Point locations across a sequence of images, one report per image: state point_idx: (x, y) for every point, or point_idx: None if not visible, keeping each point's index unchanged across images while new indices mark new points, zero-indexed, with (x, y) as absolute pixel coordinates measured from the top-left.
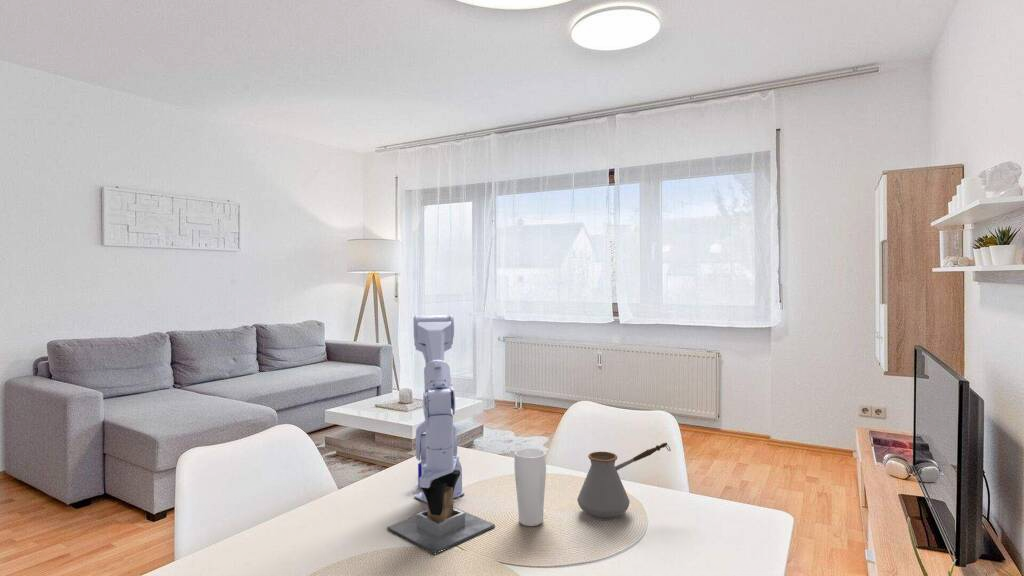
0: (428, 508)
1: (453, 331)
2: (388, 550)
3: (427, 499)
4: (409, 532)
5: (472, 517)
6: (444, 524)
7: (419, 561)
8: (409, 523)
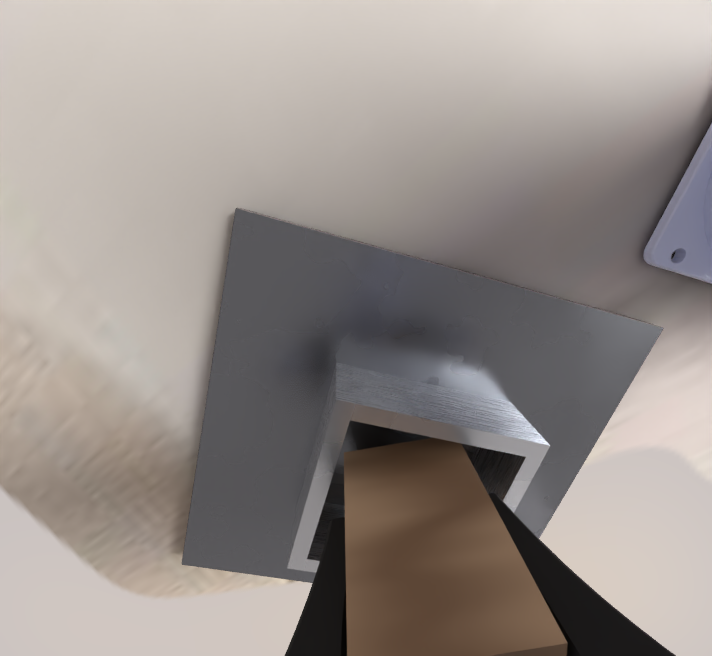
0: (347, 518)
1: None
2: (80, 381)
3: (295, 641)
4: (255, 375)
5: (530, 521)
6: None
7: (112, 536)
8: (343, 305)
